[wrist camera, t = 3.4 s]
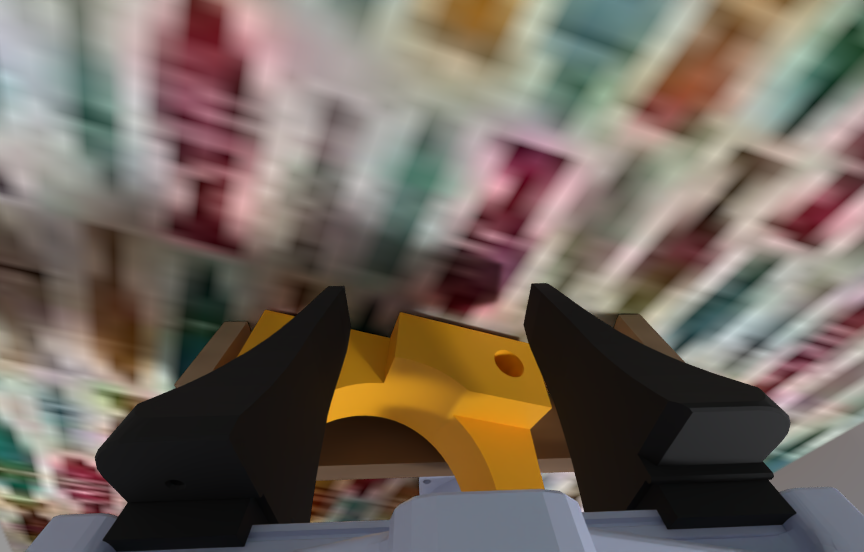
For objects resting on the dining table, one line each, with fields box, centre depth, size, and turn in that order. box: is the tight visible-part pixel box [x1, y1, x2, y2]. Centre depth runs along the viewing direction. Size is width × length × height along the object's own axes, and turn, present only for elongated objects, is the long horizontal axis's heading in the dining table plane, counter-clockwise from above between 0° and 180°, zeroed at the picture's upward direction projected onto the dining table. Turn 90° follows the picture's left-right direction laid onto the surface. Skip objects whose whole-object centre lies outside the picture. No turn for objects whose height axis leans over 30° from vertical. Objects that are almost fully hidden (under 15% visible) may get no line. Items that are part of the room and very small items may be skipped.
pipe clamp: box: [237, 310, 552, 492], centre depth 13 cm, size 12×4×6 cm, turn 71°
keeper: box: [175, 314, 685, 481], centre depth 15 cm, size 7×19×4 cm, turn 90°
